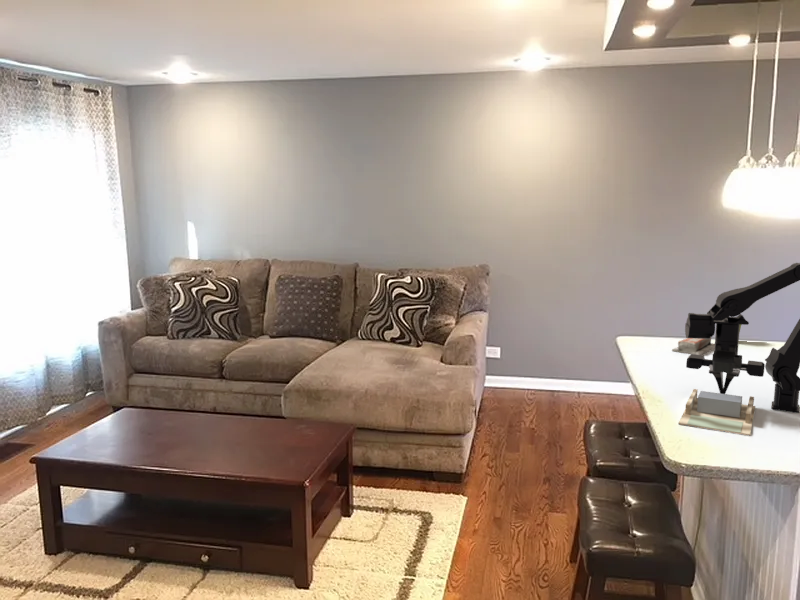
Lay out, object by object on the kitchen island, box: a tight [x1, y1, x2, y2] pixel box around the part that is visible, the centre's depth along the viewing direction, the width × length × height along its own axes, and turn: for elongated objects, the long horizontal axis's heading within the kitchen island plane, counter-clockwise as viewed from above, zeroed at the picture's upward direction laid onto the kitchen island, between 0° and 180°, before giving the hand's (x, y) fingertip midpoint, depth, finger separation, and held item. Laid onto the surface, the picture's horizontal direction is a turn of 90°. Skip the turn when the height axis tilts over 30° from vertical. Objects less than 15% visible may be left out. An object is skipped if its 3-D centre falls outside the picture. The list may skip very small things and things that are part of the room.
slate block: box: [697, 390, 743, 418], centre depth 179 cm, size 6×10×4 cm, turn 60°
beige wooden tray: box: [678, 388, 756, 437], centre depth 177 cm, size 24×16×3 cm, turn 150°
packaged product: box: [671, 337, 715, 355], centre depth 248 cm, size 18×5×10 cm
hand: (722, 395), depth 186 cm, fingers closed
